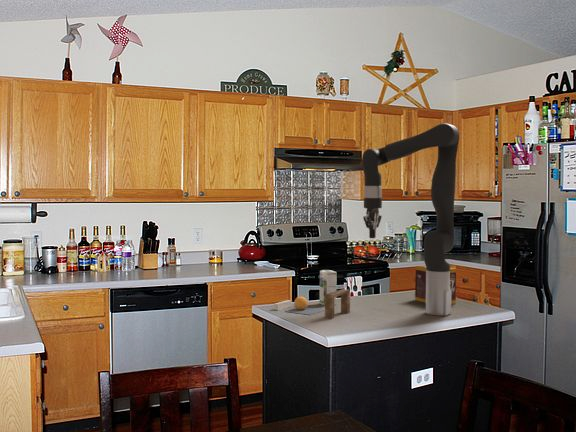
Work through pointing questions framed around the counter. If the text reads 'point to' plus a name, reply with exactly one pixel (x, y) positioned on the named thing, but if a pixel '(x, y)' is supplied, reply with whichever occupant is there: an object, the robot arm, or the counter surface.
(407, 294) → the counter surface
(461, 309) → the counter surface
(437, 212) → the robot arm
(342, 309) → the bridge
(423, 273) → the supplement box
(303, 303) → the ball
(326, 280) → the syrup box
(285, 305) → the beige thin bar
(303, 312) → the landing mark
